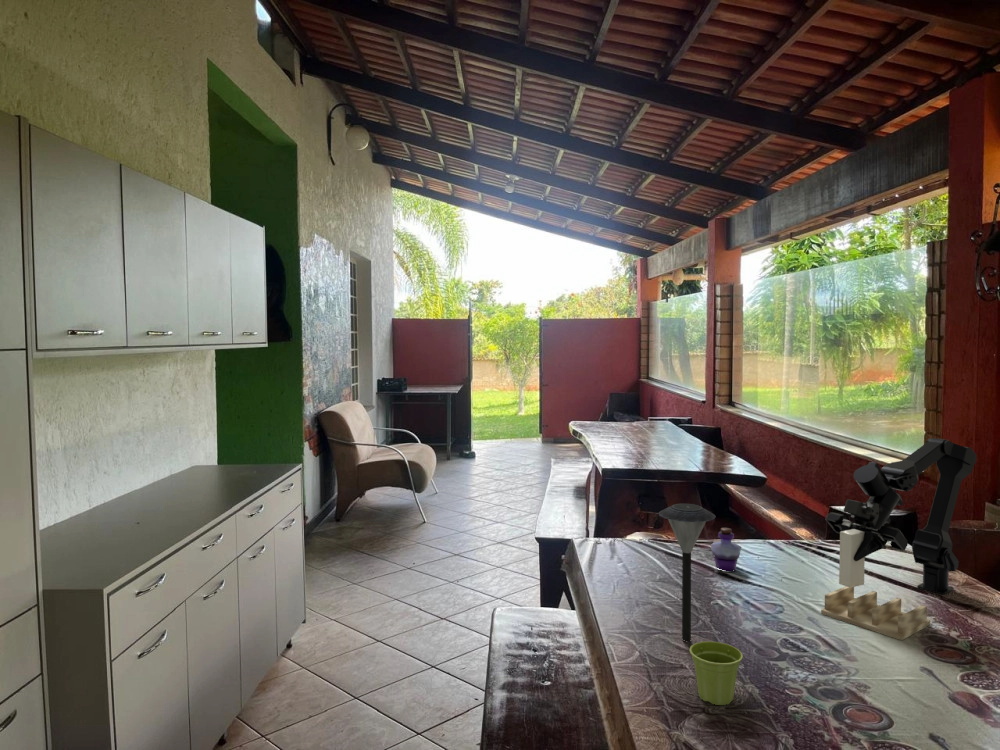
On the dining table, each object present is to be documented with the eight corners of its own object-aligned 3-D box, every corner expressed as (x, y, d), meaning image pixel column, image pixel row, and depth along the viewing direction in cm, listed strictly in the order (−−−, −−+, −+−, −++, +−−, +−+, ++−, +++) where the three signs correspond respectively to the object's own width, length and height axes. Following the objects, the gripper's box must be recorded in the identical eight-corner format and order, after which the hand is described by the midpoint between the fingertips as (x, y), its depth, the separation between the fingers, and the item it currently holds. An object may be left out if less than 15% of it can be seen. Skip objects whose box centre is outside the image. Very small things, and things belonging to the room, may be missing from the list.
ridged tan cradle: (850, 600, 171) (850, 583, 171) (929, 624, 156) (930, 605, 156) (821, 613, 163) (821, 595, 163) (901, 640, 148) (902, 620, 148)
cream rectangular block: (853, 580, 166) (854, 528, 166) (864, 584, 164) (865, 532, 163) (839, 583, 164) (840, 531, 164) (849, 587, 162) (851, 534, 161)
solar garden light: (685, 657, 141) (685, 516, 140) (646, 635, 152) (646, 504, 150) (727, 645, 147) (728, 509, 145) (687, 624, 157) (688, 498, 156)
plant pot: (682, 685, 129) (682, 641, 129) (729, 683, 130) (729, 639, 130) (700, 712, 120) (700, 664, 120) (751, 709, 121) (751, 662, 120)
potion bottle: (723, 562, 202) (724, 523, 201) (747, 570, 194) (748, 529, 194) (704, 567, 197) (704, 527, 197) (728, 576, 190) (728, 534, 189)
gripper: (830, 481, 173) (799, 528, 169) (900, 495, 156) (868, 548, 152) (850, 507, 177) (821, 555, 172) (921, 524, 160) (890, 577, 156)
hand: (848, 558), depth 163 cm, fingers closed on cream rectangular block, 3 cm apart
